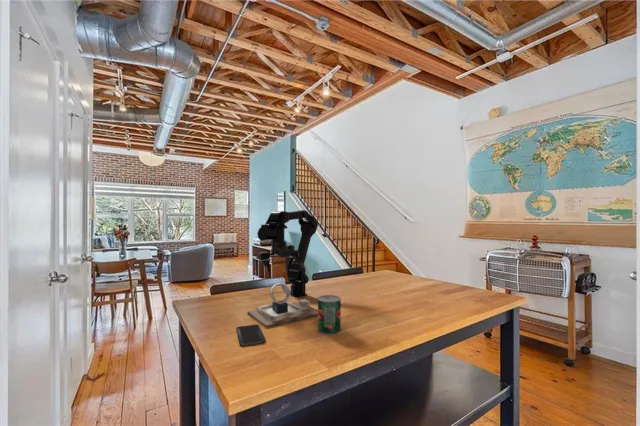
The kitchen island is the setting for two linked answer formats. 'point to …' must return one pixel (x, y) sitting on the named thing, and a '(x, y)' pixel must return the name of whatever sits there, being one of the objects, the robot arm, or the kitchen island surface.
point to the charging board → (283, 314)
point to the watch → (280, 305)
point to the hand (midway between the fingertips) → (278, 273)
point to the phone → (250, 335)
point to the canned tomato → (329, 314)
